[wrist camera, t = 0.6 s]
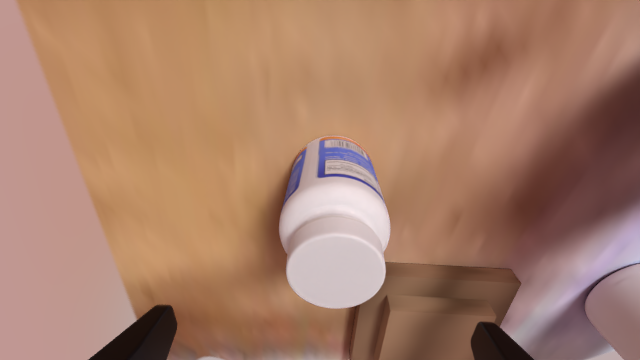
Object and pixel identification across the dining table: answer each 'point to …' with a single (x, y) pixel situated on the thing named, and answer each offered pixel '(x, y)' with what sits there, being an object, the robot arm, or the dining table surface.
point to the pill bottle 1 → (334, 225)
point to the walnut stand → (430, 311)
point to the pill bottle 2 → (618, 311)
